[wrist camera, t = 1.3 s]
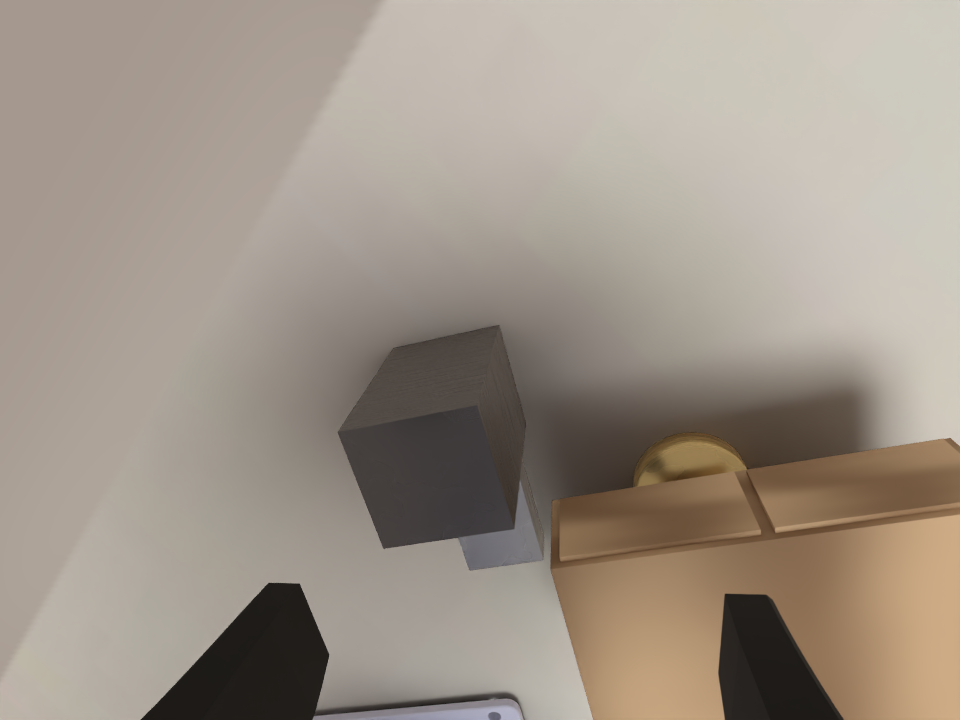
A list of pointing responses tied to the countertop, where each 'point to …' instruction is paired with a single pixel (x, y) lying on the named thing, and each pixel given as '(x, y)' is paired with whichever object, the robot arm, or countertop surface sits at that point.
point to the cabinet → (770, 582)
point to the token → (686, 459)
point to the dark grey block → (446, 450)
